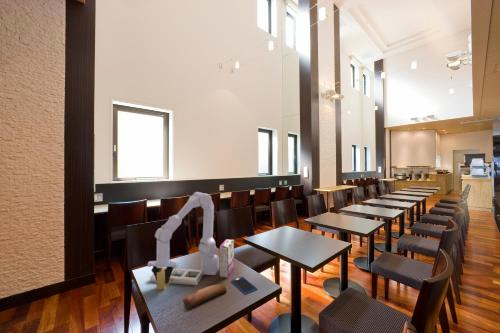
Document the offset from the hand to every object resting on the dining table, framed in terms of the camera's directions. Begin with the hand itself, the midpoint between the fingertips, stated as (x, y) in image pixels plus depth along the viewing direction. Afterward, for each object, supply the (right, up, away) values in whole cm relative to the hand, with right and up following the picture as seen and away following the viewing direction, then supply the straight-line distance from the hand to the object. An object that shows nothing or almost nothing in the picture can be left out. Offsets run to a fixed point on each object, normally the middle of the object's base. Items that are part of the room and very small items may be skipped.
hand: (163, 282), depth 102 cm
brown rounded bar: (+21, -3, -7) cm, 23 cm away
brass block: (0, -2, 0) cm, 2 cm away
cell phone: (+39, -3, +2) cm, 39 cm away
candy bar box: (+29, -3, +14) cm, 33 cm away
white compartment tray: (+4, -3, +8) cm, 10 cm away
